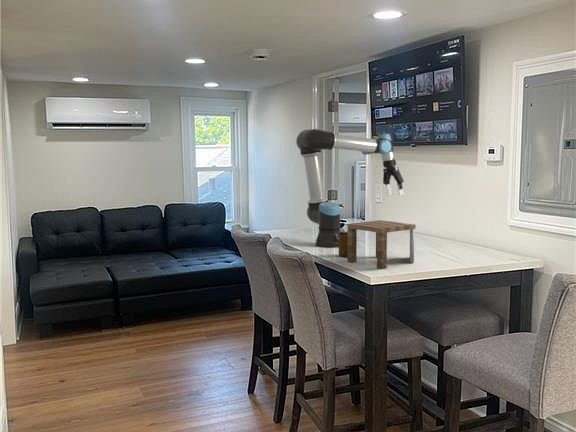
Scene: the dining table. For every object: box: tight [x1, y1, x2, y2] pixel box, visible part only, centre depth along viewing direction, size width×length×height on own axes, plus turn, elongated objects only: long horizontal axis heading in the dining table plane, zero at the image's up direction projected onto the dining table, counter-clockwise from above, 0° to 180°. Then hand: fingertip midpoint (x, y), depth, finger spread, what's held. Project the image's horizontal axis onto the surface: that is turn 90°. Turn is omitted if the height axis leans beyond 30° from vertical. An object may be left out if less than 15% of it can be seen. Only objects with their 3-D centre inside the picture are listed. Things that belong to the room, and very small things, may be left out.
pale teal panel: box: [409, 229, 416, 263], centre depth 261 cm, size 2×15×15 cm, turn 167°
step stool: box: [346, 219, 417, 270], centre depth 257 cm, size 22×22×18 cm
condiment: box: [334, 231, 348, 258], centre depth 274 cm, size 7×8×12 cm
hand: (395, 194), depth 331 cm, fingers open, 13 cm apart
